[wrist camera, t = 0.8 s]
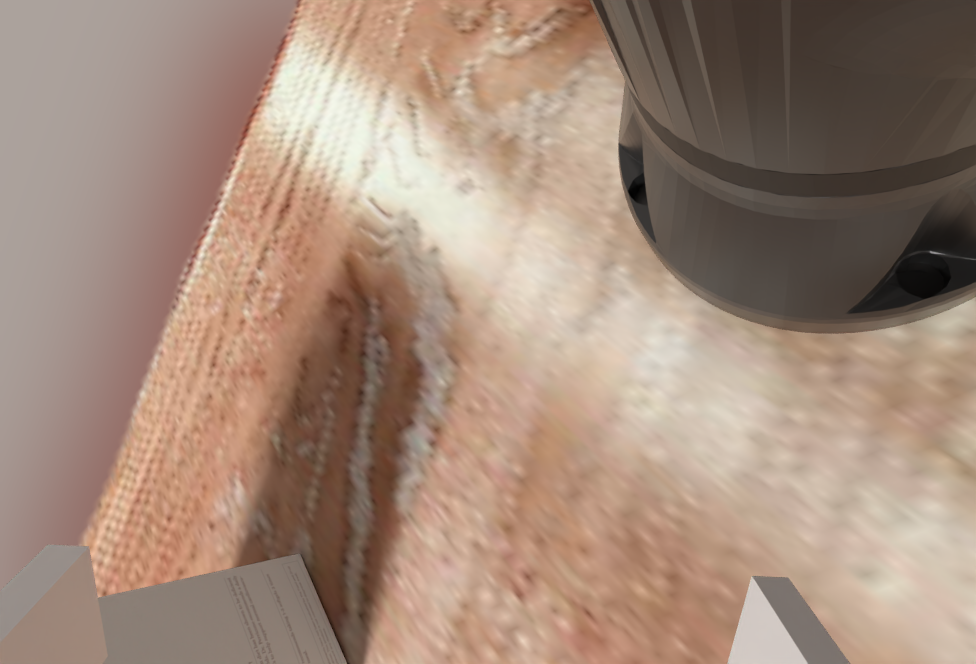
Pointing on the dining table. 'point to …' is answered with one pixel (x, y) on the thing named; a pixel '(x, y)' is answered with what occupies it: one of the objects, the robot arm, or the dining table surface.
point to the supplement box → (223, 619)
